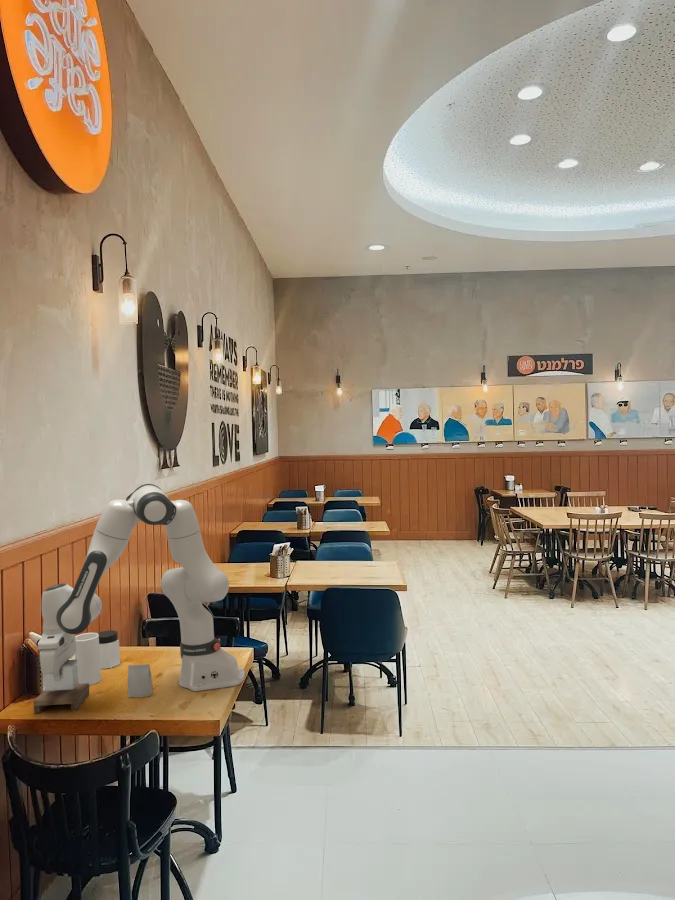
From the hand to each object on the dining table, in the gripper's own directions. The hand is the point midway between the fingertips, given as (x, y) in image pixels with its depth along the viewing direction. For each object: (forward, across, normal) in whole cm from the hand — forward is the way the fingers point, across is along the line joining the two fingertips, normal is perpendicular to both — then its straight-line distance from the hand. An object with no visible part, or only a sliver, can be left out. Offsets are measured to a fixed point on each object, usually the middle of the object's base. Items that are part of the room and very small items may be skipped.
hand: (61, 677), depth 207 cm
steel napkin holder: (+3, 0, 0) cm, 3 cm away
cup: (+9, -18, +2) cm, 21 cm away
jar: (+9, -34, +4) cm, 35 cm away
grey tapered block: (+9, -4, +24) cm, 26 cm away
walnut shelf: (+9, 0, 0) cm, 9 cm away
